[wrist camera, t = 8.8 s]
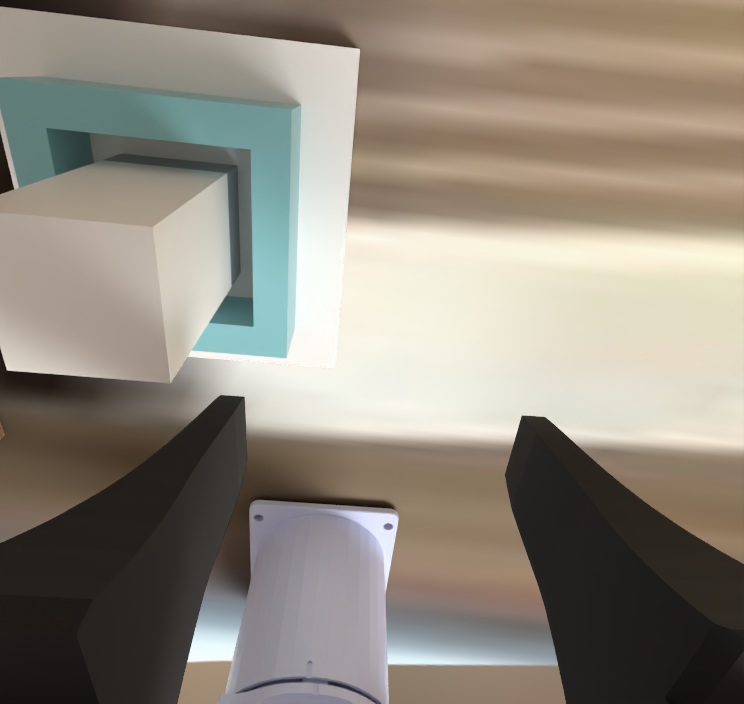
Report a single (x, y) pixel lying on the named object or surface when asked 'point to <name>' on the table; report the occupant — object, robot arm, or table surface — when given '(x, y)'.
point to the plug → (116, 266)
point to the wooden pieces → (1, 431)
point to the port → (204, 151)
